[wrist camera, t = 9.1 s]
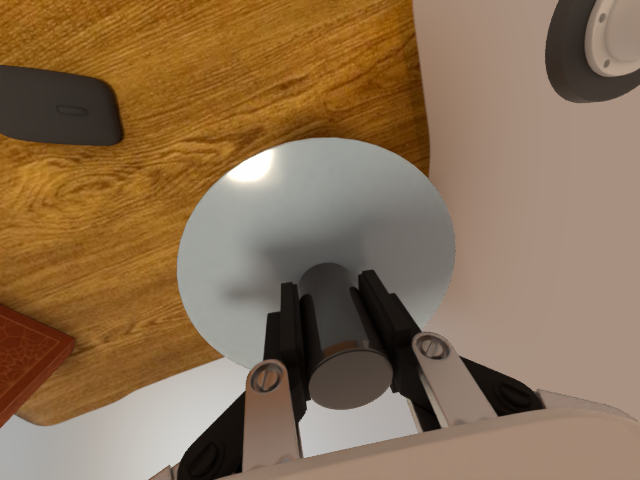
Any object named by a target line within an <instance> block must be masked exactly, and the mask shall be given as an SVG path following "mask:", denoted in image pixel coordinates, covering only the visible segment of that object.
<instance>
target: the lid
mask: <svg viewBox="0 0 640 480" xmlns="http://www.w3.org/2000/svg"><path fill="white" fill-rule="evenodd" d="M455 252H456V249H455V234H454V229H453V224H452V220H451V217H450V214H449V212H448V209H447V206H446V204H445V202H444V201H443V199H442V197H441V195H440V194H439V192H438V190H437V189H436V188H435V186H434V185H433V184H432V183H431V182H430V180H429V179H428V178H427V177H426V176H425V175H424V174H423V173H422V172H421V171H420V170H419V169H418V168H416V167H415V166H414V165H413V164H412V163H410V162H408V161H407V160H405V159H404V158H402V157H401V156H399V155H398V154H396V153H394V152H391V151H389V150H387V149H384V148H382V147H380V146H378V145H374V144H370V143H366V142H363V141H359V140H353V139H345V138H336V137H319V138H306V139H300V140H295V141H289V142H286V143H282V144H279V145H276V146H273V147H270V148H267V149H265V150H263V151H261V152H259V153H257V154H255V155H253V156H251V157H249V158H247V159H245V160H244V161H242V162H241V163H239V164H238V165H236V166H235V167H234V168H232V169H231V170H229V171H228V172H226V173H225V174H224V175H223V176H222V177H221V178H220V179H219V180H218V181H217V182H216V183H215V184H213V185H212V186H211V187H210V188H209V190H208V191H207V192H206V193H205V195H204V196H203V197H202V198H201V200H200V201H199V202H198V204H197V205H196V207H195V209H194V210H193V212H192V214H191V216H190V218H189V219H188V221H187V223H186V226H185V229H184V232H183V234H182V237H181V240H180V245H179V251H178V256H177V280H178V287H179V293H180V296H181V299H182V302H183V305H184V308H185V310H186V312H187V314H188V316H189V318H190V320H191V322H192V323H193V325H194V326H195V328H196V329H197V330H198V332H199V333H200V335H201V336H202V337H203V338H204V339H205V340H206V341H207V342H208V343H209V344H210V345H211V346H212V347H213V348H215V349H216V350H217V351H218V352H220V353H221V354H222V355H224V356H225V357H227V358H228V359H230V360H232V361H233V362H235V363H237V364H239V365H241V366H243V367H245V368H248V369H250V370H251V369H252V368H253V367H254V366H255V365H257V364H258V363H260V362H262V361H263V355H264V344H265V333H266V322H267V314H268V313H272V312H278V311H280V307H281V283H286V282H292V283H293V284H297V287H298V294H299V300H300V311H301V322H302V332H303V343H304V354H305V365H306V384H307V391H308V393H309V395H310V397H311V398H312V400H313V401H314V402H315V403H317V404H318V405H321V406H322V407H325V408H328V409H335V410H347V409H353V408H357V407H361V406H364V405H366V404H368V403H370V402H372V401H374V400H375V399H377V398H378V397H380V396H381V395H382V394H383V393H384V392H385V391H386V390H387V389H388V387H389V386H390V384H391V383H392V380H393V377H394V367H393V364H392V361H391V359H390V357H389V355H388V353H387V351H386V349H385V346H384V344H383V342H382V340H381V338H380V336H379V334H378V331H377V329H376V327H375V325H374V323H373V321H372V318H371V316H370V314H369V312H368V310H367V308H366V306H365V303H364V301H363V299H362V297H361V295H360V293H359V291H358V275H359V274H362V271H365V270H372V269H373V270H374V271H375V272H376V274H377V276H378V277H379V279H380V280H381V282H382V283H383V285H384V286H385V288H386V289H387V291H388V293H389V294H390V293H395V294H396V295H397V296H398V297H399V299H400V300H401V302H402V303H403V305H404V306H405V308H406V309H407V311H408V312H409V314H410V315H411V316H412V318H413V319H414V321H415V322H416V324H417V325H418V327H419V328H420V330H422V328H423V327H424V326H425V325H426V324H427V323H428V321H429V320H430V319H431V318H432V316H433V315H434V313H435V312H436V310H437V309H438V307H439V305H440V303H441V302H442V300H443V298H444V296H445V294H446V291H447V289H448V286H449V283H450V281H451V277H452V272H453V269H454V262H455Z"/></svg>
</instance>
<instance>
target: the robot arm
mask: <svg viewBox="0 0 640 480" xmlns="http://www.w3.org/2000/svg"><path fill="white" fill-rule="evenodd" d="M584 48H585V56H586V59H587V62H588V65H589V66H590V67H591V69H592V70H593V71H594V72H595V73H597V74H598V75H601V76H604V77H615V76H621V75H626V74H629V73H632V72H634V71H636V70H637V69H639V68H640V0H596V2H595V4H594V7H593V9H592V11H591V14H590V17H589V20H588V23H587V27H586V33H585V43H584ZM358 291H359V293H360V295H361V297H362V299H363V301H364V303H365V306H366V308H367V310H368V312H369V314H370V316H371V318H372V321H373V323H374V325H375V327H376V329H377V331H378V334H379V336H380V338H381V340H382V342H383V344H384V346H385V349H386V351H387V353H388V355H389V357H390V359H391V361H392V364H393V367H394V377H393V380H392V383H391V384H390V388H391V390H392V392H393V393H396V392H399V393H400V394H401V395H403V396H404V397H406V398H407V403H408V405H409V408H410V411H411V414H412V416H413V420H414V423H415V425H416V428H417V431H418V434H414V435H409V436H404V437H400V438H395V439H390V440H386V441H381V442H376V443H372V444H367V445H362V446H358V447H353V448H349V449H345V450H340V451H335V452H330V453H326V454H322V455H317V456H312V457H308V458H303V451H302V445H301V437H300V430H299V421H300V420H301V419H302V417H303V416H304V414H305V411H306V410H307V406H306V401H309V400H311V397H310V395H309V393H308V391H307V384H306V365H305V354H304V343H303V332H302V322H301V311H300V300H299V294H298V287H297V284H293V283H292V282H286V283H281V307H280V311H278V312H272V313H268V314H267V322H266V333H265V344H264V355H263V361H262V362H260V363H258V364H257V365H255V366H254V367H253V368H252V369H251V371H250V372H249V374H248V376H247V380H246V391H244V392H243V394H241V395H240V397H238V399H236V400H235V402H233V403H232V405H230V407H229V408H228V409H227V410H226V411H225V412H224V413H223V414H222V415H221V416H220V417H219V418H218V419H217V420H216V421H215V422H214V423H213V424H212V425H211V426H210V427H209V428H208V429H207V430H206V431H205V432H204V433H203V434H202V435H201V436H200V437H199V438H198V439H197V440H196V441H195V442H194V443H193V444H192V445H191V446H190V447H189V448H188V450H187V451H186V452H185V454H184V456H183V458H182V459H181V461H180V462H179V463H178V464H176V465H175V466H174V467H172V468H171V466H170V465H169V466H167V467H166V468H164V469H163V470H162V471H160V472H159V473H157V474H156V475H154V476H153V477H152V478H150V479H149V480H640V423H639V422H638V421H637V420H635V419H634V418H633V417H631V416H630V415H629V414H627V413H625V412H623V411H621V410H619V409H617V408H614V407H612V406H609V405H605V404H600V403H596V402H592V401H588V400H584V399H579V398H575V397H571V396H566V395H562V394H558V393H553V392H549V391H545V390H540V389H537V391H536V392H534V391H532V390H531V389H530V388H529V387H527V386H526V385H525V384H523V383H521V382H520V381H517V380H516V379H514V378H511V377H509V376H506V375H504V374H502V373H499V372H497V371H494V370H492V369H489V368H487V367H485V366H483V365H480V364H477V363H475V362H473V361H471V360H468V359H466V358H463V357H461V356H459V355H458V354H457V352H456V351H455V349H454V348H453V346H452V345H451V344H450V342H449V341H448V340H447V339H445V338H444V337H443V336H441V335H439V334H436V333H432V332H422V331H421V330H420V328H419V327H418V325H417V324H416V322H415V321H414V319H413V318H412V316H411V315H410V314H409V312H408V311H407V309H406V308H405V306H404V305H403V303H402V302H401V300H400V299H399V297H398V296H397V295H396V294H395V293H390V294H389V293H388V291H387V289H386V288H385V286H384V285H383V283H382V282H381V280H380V279H379V277H378V276H377V274H376V272H375V271H374V270H373V269H372V270H365V271H362V274H359V275H358Z"/></svg>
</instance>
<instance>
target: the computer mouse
mask: <svg viewBox="0 0 640 480" xmlns="http://www.w3.org/2000/svg"><path fill="white" fill-rule="evenodd" d="M0 133H1V134H3V135H5V136H7V137H10V138H14V139H18V140H24V141H32V142H42V143H54V144H70V145H93V146H111V145H114V144H116V143H117V142H118V141H119V140H120V138H121V131H120V127H119V122H118V118H117V113H116V109H115V104H114V99H113V95H112V93H111V91H110V90H109V88H108V87H107V86H106V85H105V84H103V83H102V82H101V81H99V80H97V79H94V78H91V77H85V76H79V75H74V74H68V73H61V72H55V71H48V70H41V69H33V68H25V67H17V66H6V65H0Z"/></svg>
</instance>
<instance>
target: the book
mask: <svg viewBox="0 0 640 480" xmlns="http://www.w3.org/2000/svg"><path fill="white" fill-rule="evenodd" d="M74 346H75V338H73V337H70V336H68V335H66V334H64V333H62V332H59V331H57V330H55V329H53V328H51V327H48V326H46V325H44V324H42V323H40V322H37V321H35V320H33V319H31V318H29V317H27V316H24V315H22V314H20V313H18V312H16V311H13V310H11V309H9V308H7V307H5V306H2V305H0V428H1V427H2V426H3V425H4V424H5V423H6V422H7V421H8V420H9V419H10V417H11V416H12V415H13V414H14V413H15V412H16V411H17V410H18V409H19V408H20V407H21V406H22V405H23V404H24V403H25V402H26V401H27V400H28V399H29V398H30V397H31V395H32V394H33V393H34V392H35V391H36V390H37V389H38V388H39V387H40V386H41V385H42V384H43V383H44V382H45V381H46V380H47V379H48V378H49V377H50V376H51V374H52V373H53V372H54V371H55V370H56V369H57V368H58V367H59V366H60V365H61V364H62V363H63V362H64V361H65V360H66V359H67V358H68V357H69V356H70V354H71V353H72V351H73V349H74Z"/></svg>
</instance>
